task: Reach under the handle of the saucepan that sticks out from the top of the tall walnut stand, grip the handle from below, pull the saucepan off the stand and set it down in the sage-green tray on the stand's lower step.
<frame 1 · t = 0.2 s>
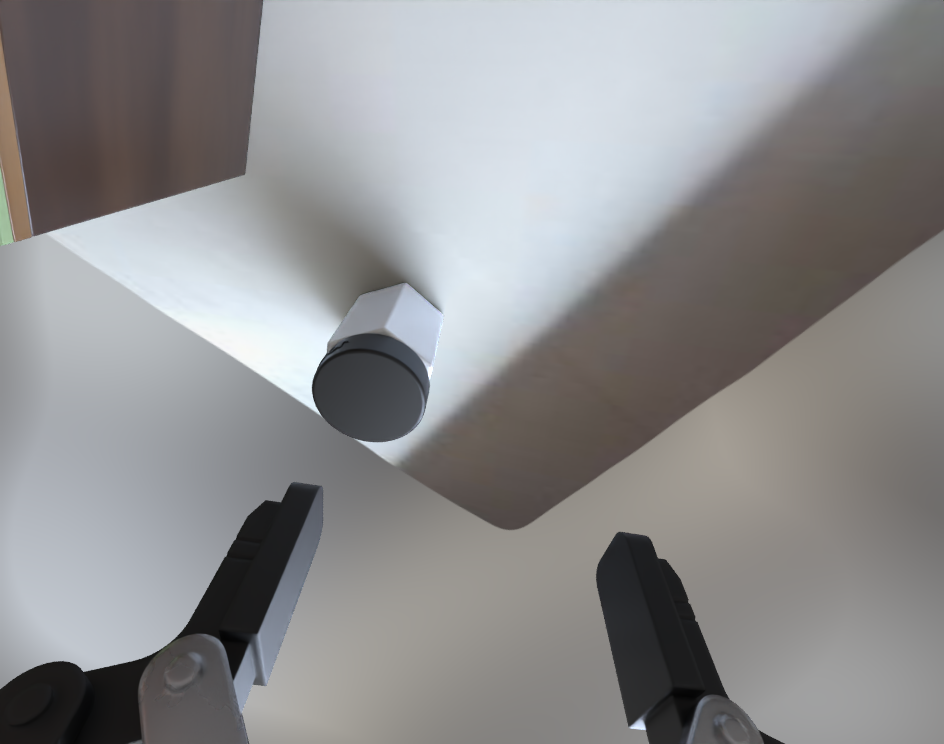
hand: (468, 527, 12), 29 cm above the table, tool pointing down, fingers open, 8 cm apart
jar: (399, 324, 41), on the table
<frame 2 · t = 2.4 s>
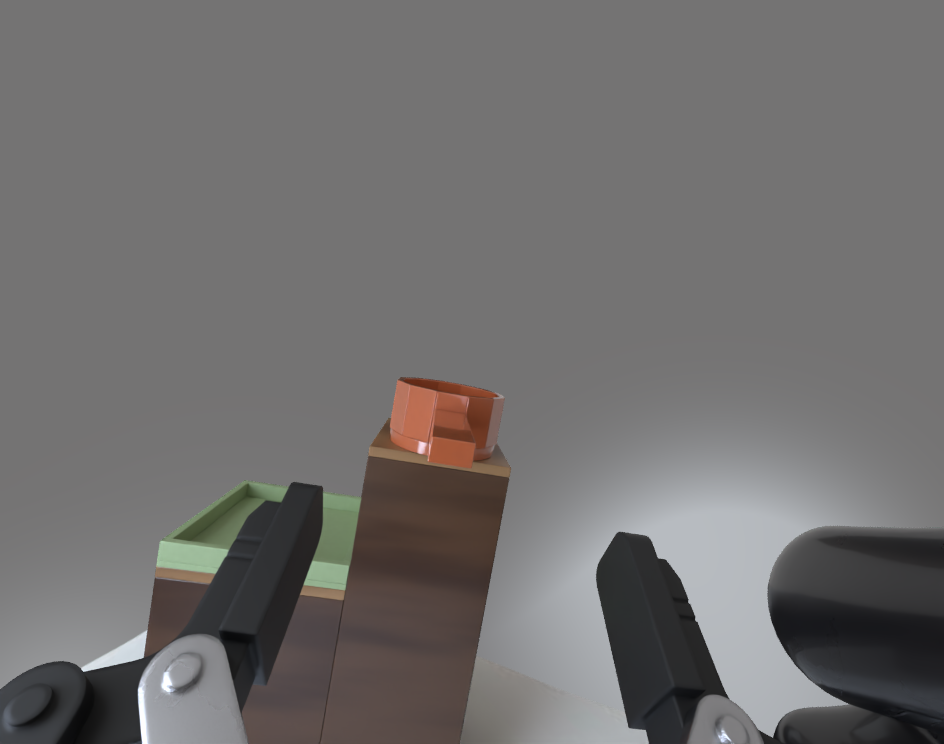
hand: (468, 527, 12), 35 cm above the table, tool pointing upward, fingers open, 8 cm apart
tray: (285, 537, 40), resting on stand
saucepan: (441, 444, 37), point 31 cm above the table, touching stand
stand: (313, 740, 41), on the table
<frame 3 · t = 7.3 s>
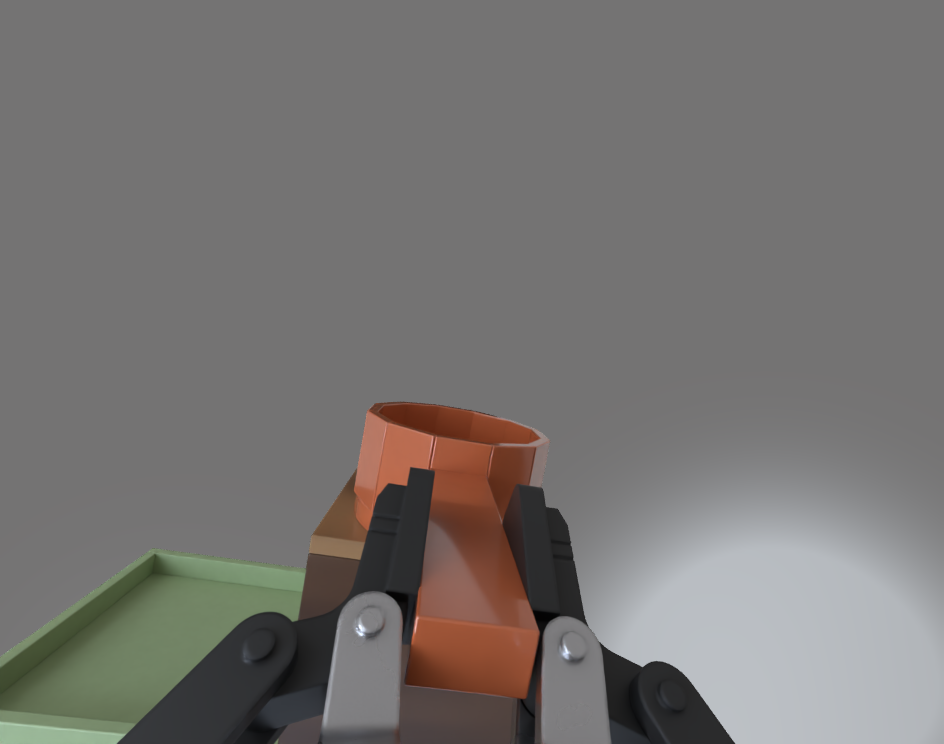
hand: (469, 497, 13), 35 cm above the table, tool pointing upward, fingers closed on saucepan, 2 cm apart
tray: (193, 655, 25), resting on stand
saucepan: (442, 515, 22), point 31 cm above the table, touching gripper, stand
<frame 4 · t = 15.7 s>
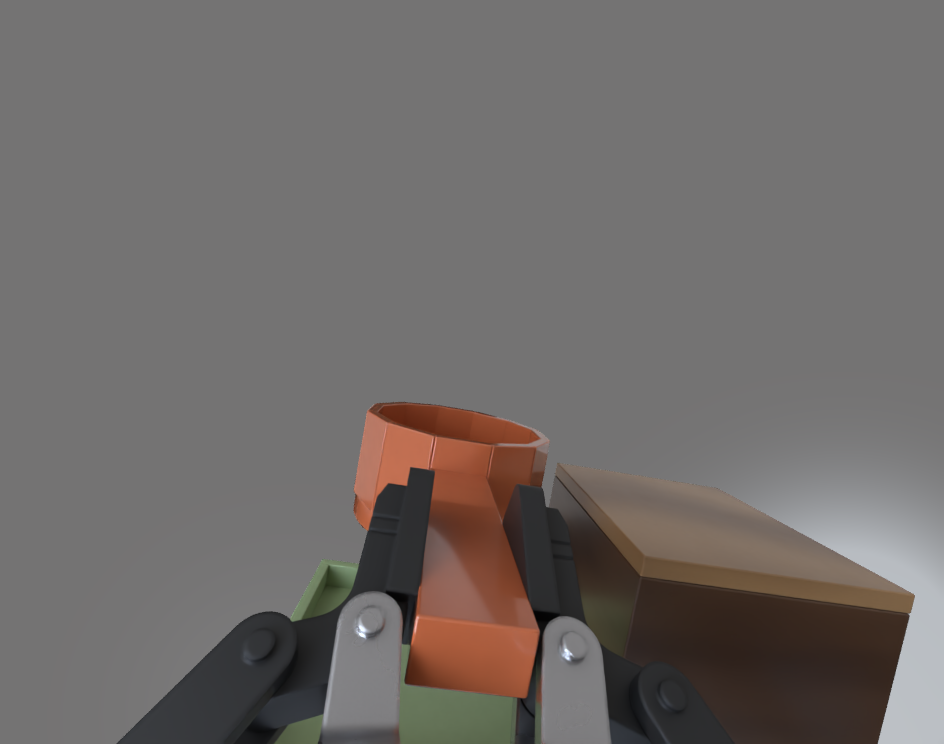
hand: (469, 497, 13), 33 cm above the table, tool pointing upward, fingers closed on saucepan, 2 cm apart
tray: (413, 679, 23), resting on stand
saucepan: (442, 515, 22), point 29 cm above the table, touching gripper
when the fingers open (24 cm above the table, at t = 18.2 s): saucepan stays where it is, resting on tray.
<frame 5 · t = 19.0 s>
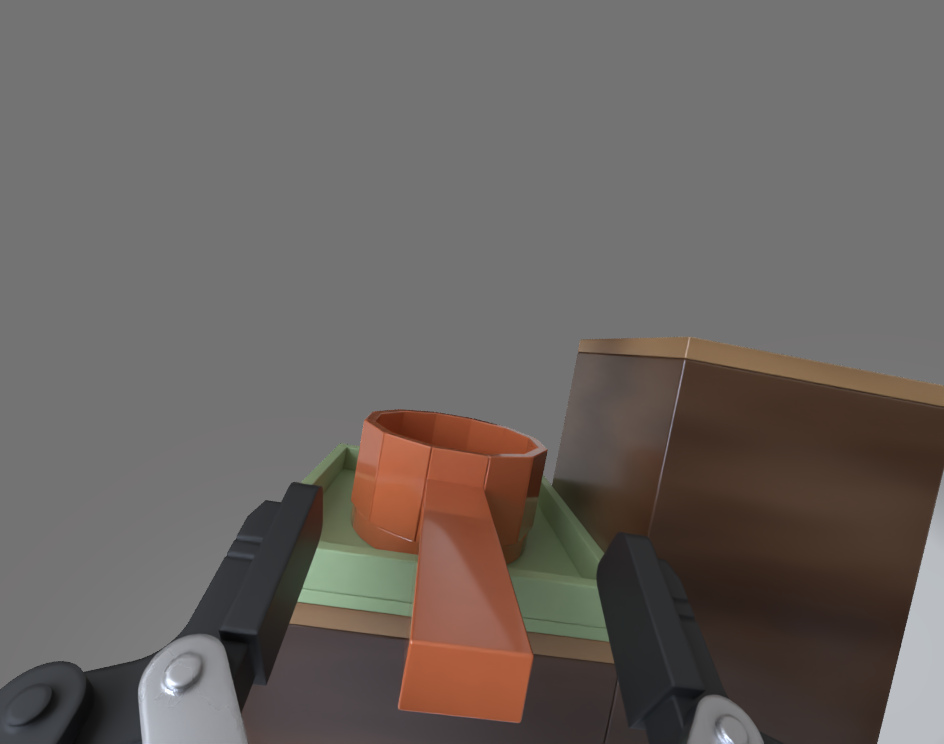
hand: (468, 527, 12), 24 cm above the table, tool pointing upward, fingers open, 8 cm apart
tray: (438, 533, 22), resting on stand
saucepan: (439, 524, 22), point 20 cm above the table, touching tray
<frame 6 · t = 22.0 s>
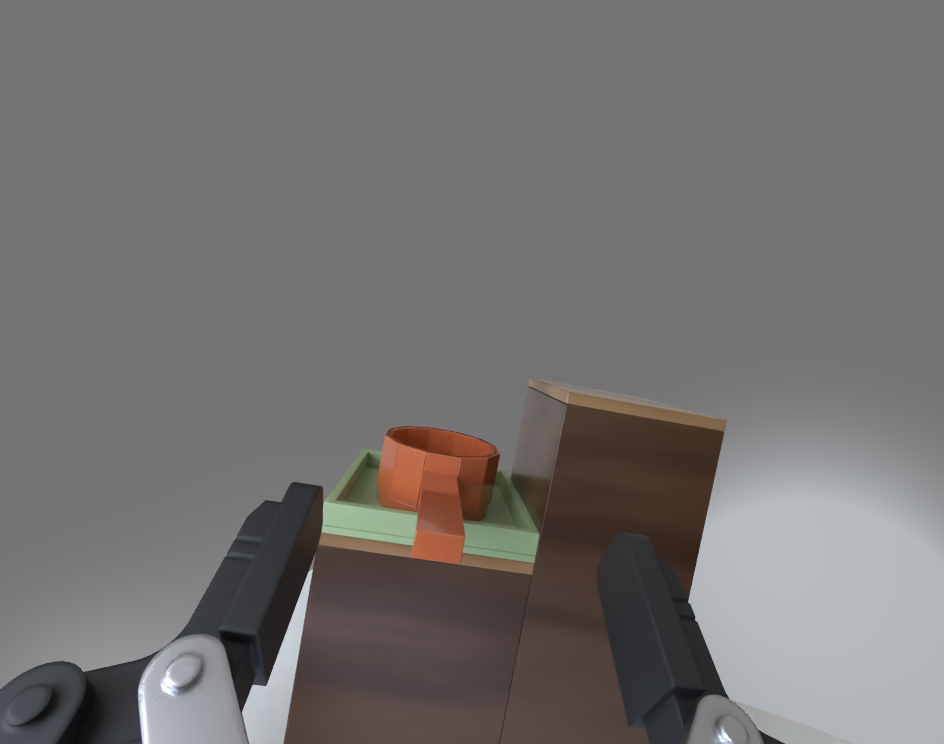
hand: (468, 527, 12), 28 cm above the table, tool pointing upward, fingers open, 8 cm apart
tray: (431, 507, 35), resting on stand
saucepan: (432, 501, 35), point 20 cm above the table, touching tray
stand: (455, 742, 36), on the table
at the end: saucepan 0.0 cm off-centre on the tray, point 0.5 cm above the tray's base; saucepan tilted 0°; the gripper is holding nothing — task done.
